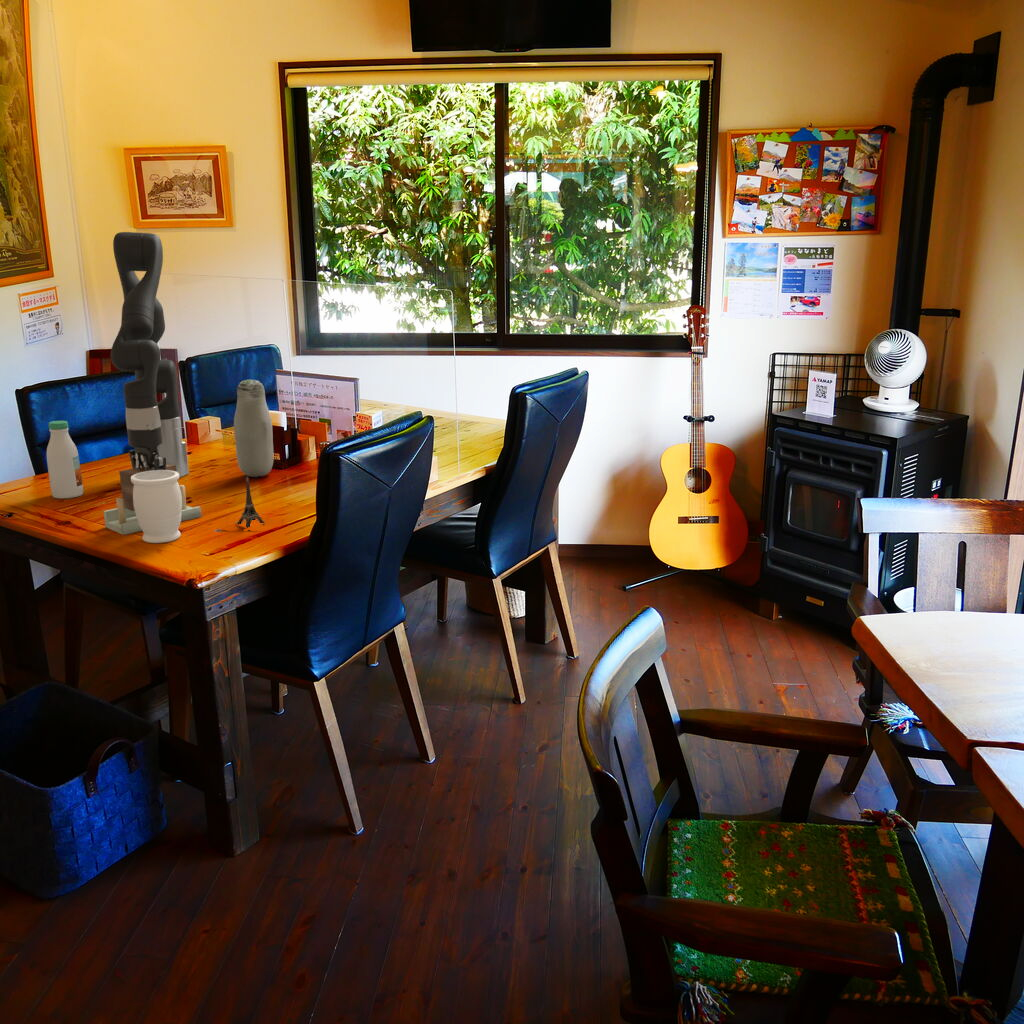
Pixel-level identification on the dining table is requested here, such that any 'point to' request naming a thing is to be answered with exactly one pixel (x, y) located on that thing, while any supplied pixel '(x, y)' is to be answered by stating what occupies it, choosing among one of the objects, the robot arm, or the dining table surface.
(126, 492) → the wooden block
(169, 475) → the jar
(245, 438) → the grey bottle
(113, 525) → the ledge
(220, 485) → the dining table surface
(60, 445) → the milk bottle
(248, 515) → the eiffel tower figurine
